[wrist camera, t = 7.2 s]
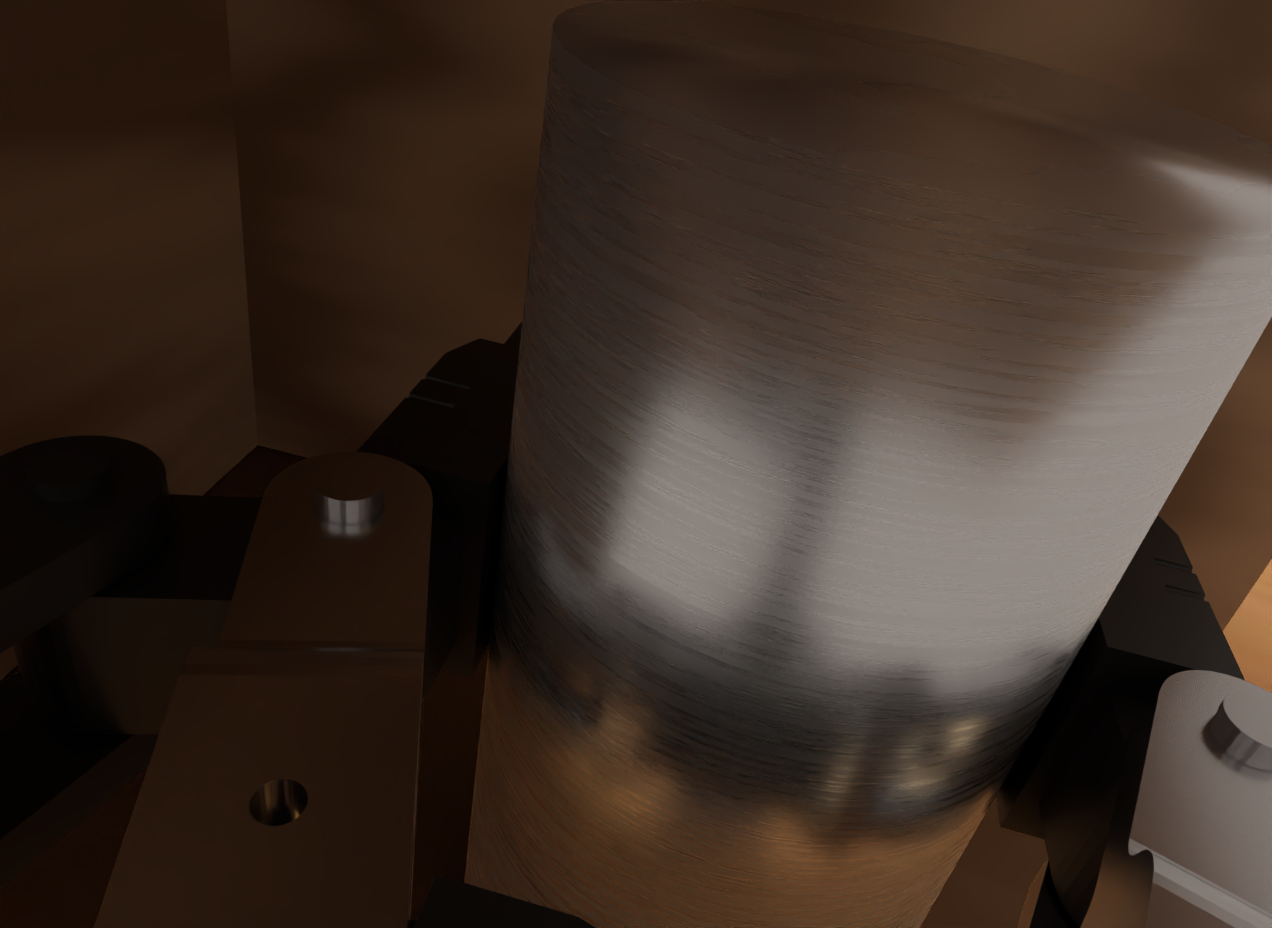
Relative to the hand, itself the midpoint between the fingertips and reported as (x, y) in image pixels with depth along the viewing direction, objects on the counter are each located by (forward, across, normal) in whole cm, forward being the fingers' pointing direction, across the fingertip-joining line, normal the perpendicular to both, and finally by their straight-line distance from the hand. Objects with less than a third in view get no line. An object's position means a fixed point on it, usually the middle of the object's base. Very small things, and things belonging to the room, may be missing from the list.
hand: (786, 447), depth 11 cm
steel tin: (-3, 0, +6) cm, 7 cm away
